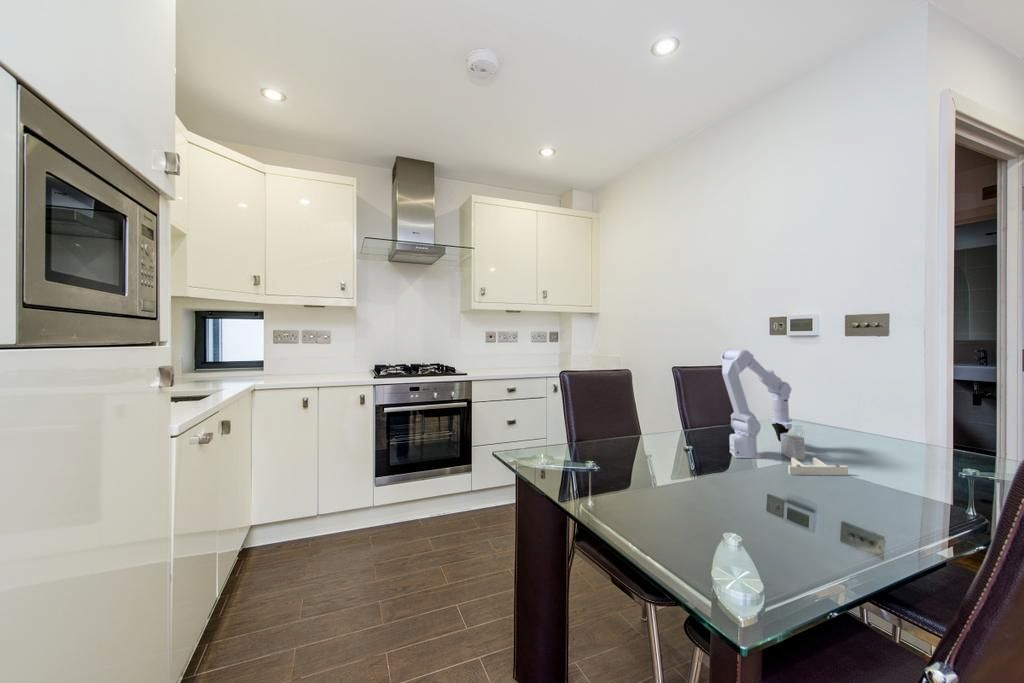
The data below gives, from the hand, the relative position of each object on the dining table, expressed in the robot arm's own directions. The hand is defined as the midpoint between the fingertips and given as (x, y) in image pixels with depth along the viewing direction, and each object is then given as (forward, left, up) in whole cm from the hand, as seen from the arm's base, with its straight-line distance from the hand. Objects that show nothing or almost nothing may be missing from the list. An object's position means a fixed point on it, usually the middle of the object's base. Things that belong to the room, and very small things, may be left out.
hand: (781, 441), depth 167 cm
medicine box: (0, -9, -4) cm, 10 cm away
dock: (0, -22, -3) cm, 23 cm away
